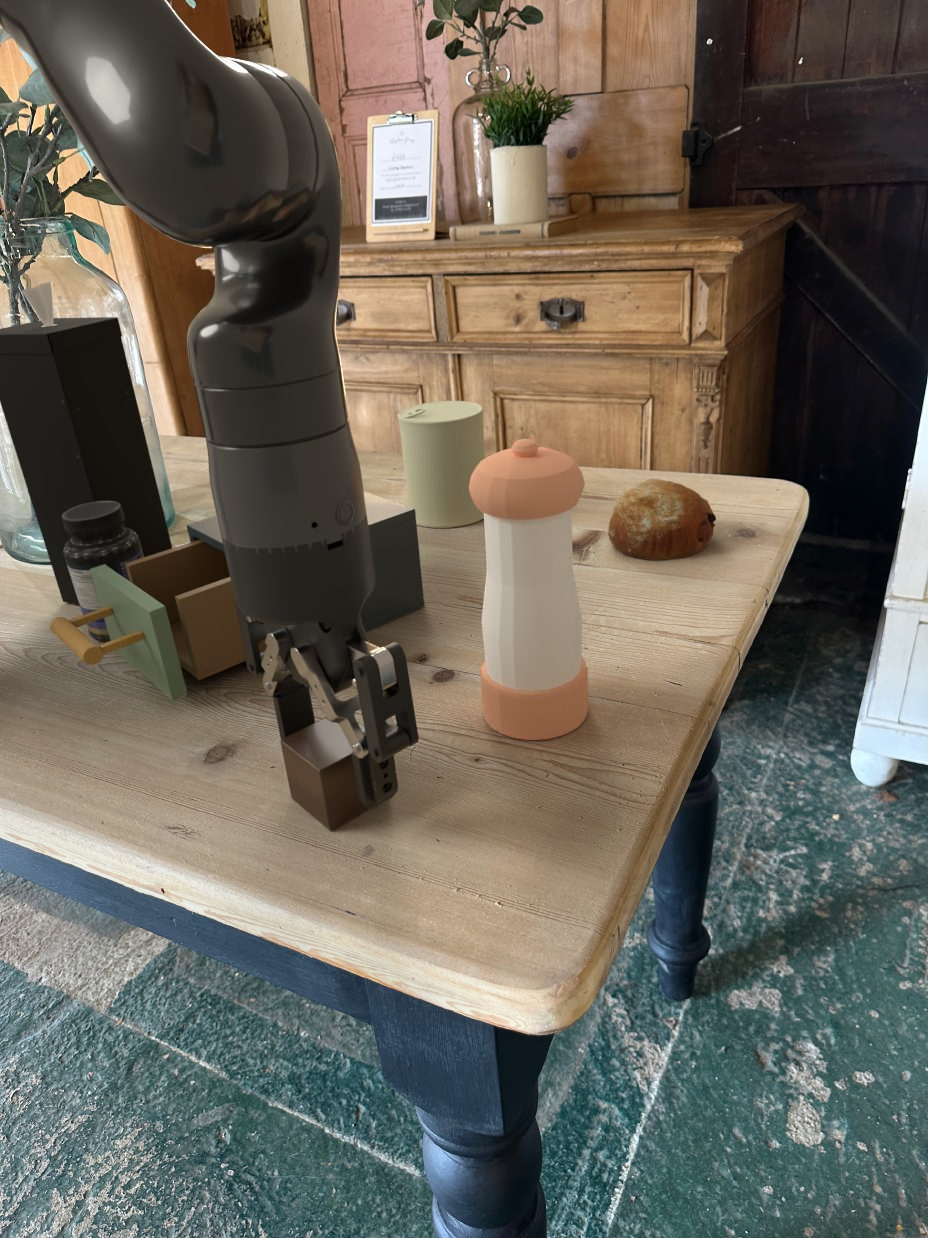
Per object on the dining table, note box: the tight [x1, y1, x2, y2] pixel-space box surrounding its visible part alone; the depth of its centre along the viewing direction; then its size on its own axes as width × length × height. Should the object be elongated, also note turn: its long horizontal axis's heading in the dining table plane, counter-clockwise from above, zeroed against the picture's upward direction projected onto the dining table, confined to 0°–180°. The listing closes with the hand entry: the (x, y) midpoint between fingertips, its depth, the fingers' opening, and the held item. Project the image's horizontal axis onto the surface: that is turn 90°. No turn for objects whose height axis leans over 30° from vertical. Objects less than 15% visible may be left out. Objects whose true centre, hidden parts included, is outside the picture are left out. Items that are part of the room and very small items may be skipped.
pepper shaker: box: [469, 438, 589, 741], centre depth 56 cm, size 7×7×19 cm
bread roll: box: [607, 478, 717, 561], centre depth 84 cm, size 10×10×8 cm
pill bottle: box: [62, 501, 144, 642], centre depth 74 cm, size 6×6×11 cm
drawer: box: [49, 540, 267, 701], centre depth 68 cm, size 18×11×7 cm, turn 131°
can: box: [397, 400, 486, 529], centre depth 94 cm, size 9×9×12 cm
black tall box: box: [0, 281, 173, 606], centre depth 77 cm, size 8×8×28 cm
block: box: [279, 717, 370, 832], centre depth 52 cm, size 4×4×4 cm
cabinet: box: [186, 491, 426, 633], centre depth 74 cm, size 15×13×9 cm
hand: (337, 768), depth 52 cm, fingers open, 8 cm apart
